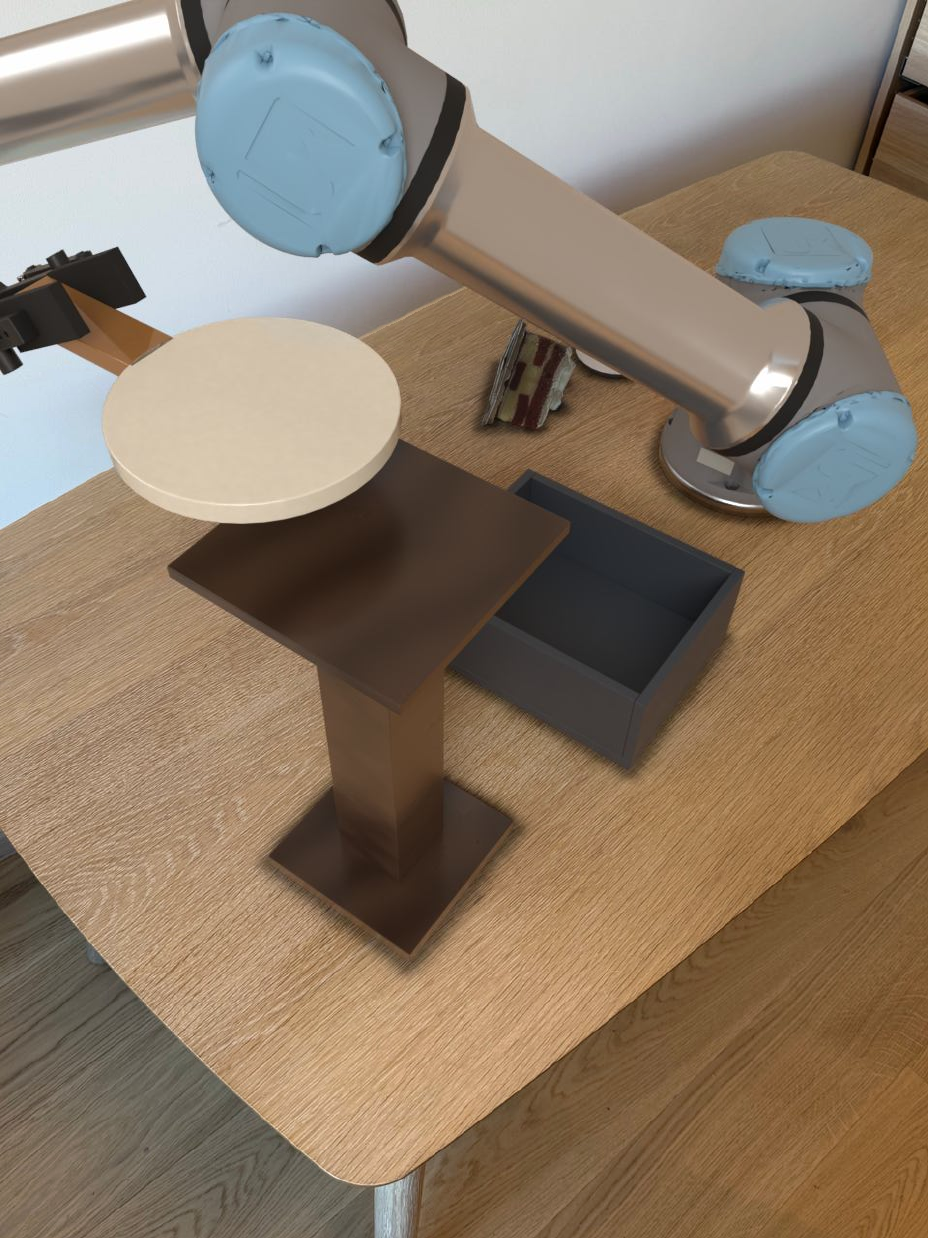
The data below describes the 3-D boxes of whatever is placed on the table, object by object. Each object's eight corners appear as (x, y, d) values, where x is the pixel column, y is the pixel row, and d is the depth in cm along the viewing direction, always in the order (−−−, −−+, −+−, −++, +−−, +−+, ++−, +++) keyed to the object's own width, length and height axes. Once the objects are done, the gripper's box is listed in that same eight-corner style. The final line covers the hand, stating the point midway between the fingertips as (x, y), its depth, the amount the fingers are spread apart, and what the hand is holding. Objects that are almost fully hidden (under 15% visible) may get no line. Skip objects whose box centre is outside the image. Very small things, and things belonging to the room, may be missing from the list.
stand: (249, 867, 75) (166, 566, 52) (376, 730, 83) (352, 414, 60) (413, 984, 70) (400, 706, 47) (532, 826, 77) (571, 521, 55)
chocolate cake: (550, 452, 104) (597, 330, 103) (481, 425, 103) (527, 302, 102) (538, 453, 113) (580, 342, 112) (474, 428, 113) (516, 316, 111)
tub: (415, 649, 88) (413, 581, 82) (522, 536, 96) (528, 467, 90) (629, 771, 81) (644, 707, 74) (724, 638, 89) (745, 571, 83)
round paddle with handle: (-79, 371, 55) (-88, 351, 54) (128, 249, 62) (124, 230, 62) (268, 571, 47) (264, 551, 46) (458, 402, 54) (459, 382, 53)
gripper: (50, 337, 76) (247, 289, 60) (-153, 462, 68) (12, 445, 51) (-14, 234, 73) (176, 152, 56) (-238, 352, 64) (-89, 295, 48)
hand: (98, 292), depth 54 cm, fingers closed on round paddle with handle, 3 cm apart
